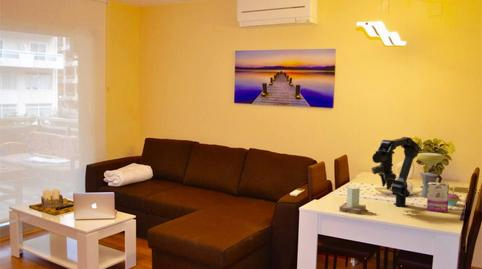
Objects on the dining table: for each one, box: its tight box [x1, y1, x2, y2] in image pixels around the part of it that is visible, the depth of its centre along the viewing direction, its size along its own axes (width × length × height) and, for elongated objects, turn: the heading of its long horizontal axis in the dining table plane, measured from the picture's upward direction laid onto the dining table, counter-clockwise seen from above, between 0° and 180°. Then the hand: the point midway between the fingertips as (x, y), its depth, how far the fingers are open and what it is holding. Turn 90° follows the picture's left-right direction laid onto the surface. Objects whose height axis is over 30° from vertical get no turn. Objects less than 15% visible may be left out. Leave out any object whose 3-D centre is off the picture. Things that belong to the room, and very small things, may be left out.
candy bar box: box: [426, 182, 450, 213], centre depth 259 cm, size 11×5×16 cm, turn 68°
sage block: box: [346, 186, 361, 208], centre depth 259 cm, size 5×5×11 cm
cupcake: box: [448, 186, 460, 207], centre depth 273 cm, size 9×8×12 cm
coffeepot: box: [420, 169, 443, 199], centre depth 292 cm, size 15×9×18 cm, turn 33°
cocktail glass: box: [416, 151, 445, 189], centre depth 318 cm, size 18×18×25 cm
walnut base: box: [339, 202, 367, 215], centre depth 260 cm, size 12×12×2 cm
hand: (385, 187), depth 260 cm, fingers open, 9 cm apart
